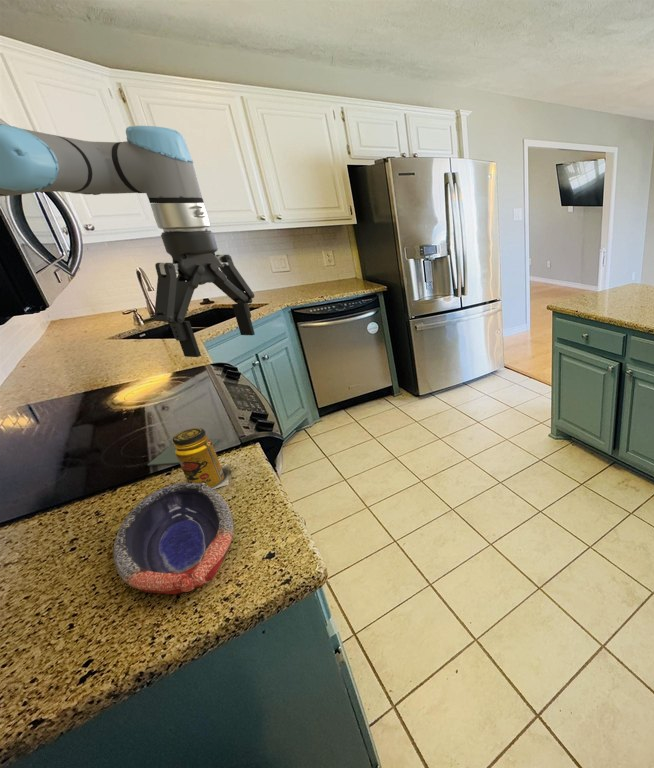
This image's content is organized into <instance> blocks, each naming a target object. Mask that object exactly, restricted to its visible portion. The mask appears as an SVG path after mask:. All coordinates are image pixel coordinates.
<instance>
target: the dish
mask: <svg viewBox="0 0 654 768" xmlns="http://www.w3.org/2000/svg"><path fill="white" fill-rule="evenodd" d="M232 515H233V514H232V512H231V508H230V506H229V504H228V502H227V501H226V500H225V499H224V497H223V496H222V495H221V494H220V493H219V492H218V491H216V489H212V488H211V487H209V486H208V485H206V484H205V483H188V482H179V483H174V484H170V485H167V486H165V487H161V488H159V489H158V490H156V491H154V492H151V494H149V495H148V496H146V497H145V498H143V499H142V500H141V501H140V502H138V503H137V504H136V505H135V506H134V507H133V508H132V509H131V510H130V512H129V513H128V514H127V515H126V517H125V518H124V520H123V521H122V523H121V525H120V526H119V528H118V531H117V534H116V536H115V539H114V542H113V543H114V544H113V550H112V552H113V554H112V555H113V562H114V567H115V569H116V572H117V574H118V575H119V577H120V578H121V579H122V581H123V582H124V583H126V584H127V585H128V586H130V587H132V588H133V589H136V590H139V591H142V592H145V593H151V594H165V595H176V594H178V595H179V594H181V593H188V592H190V591H193V590H194V589H197V588H200V587H202V586H205V585H207V584H208V583H209V582H211V581H212V580H213V579H214V578H215V577H216V575H217V573H218V571H219V569H220V567H221V566H222V564H223V562H224V560H225V559H226V557H227V555H228V553H229V551H230V549H231V545H232V542H233V536H234V531H235V525H234V518H233V516H232Z"/></svg>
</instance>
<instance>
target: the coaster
mask: <svg viewBox="0 0 654 768" xmlns="http://www.w3.org/2000/svg"><path fill="white" fill-rule="evenodd" d="M208 439H209V440H211V442H212V444H213V446H214V445H216V443H217V442H219V440H220V439H219V437H217V438H208ZM175 451H176V448H175V444H174V442H172V444H170V445H169V446H167V448H166V449H164V450H163V451H161V453H160V454H159V455H157V456H156V457H155V458H153V459H152V460H151V461H150V462H149V463H147V467H153V466H166V465H180V463H179V461H178V458H177V456H176V453H175Z"/></svg>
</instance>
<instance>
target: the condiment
mask: <svg viewBox="0 0 654 768" xmlns="http://www.w3.org/2000/svg"><path fill="white" fill-rule="evenodd" d="M209 439H210V438H209V437H208V435H207V433H206V430H205V429H204V428H200V427H195V428H189V429H185V430H183V431H181V432H178V433H177V434H175V435H174V436H173V438H172V443H174V444H175V448H176V451H175V453H176V456H177V458H178V461H179V463H180V464H179V465H180V468H181V470H182V472H183V475H184V477H185V480H186V483H205V484H206V485H208V486H209V487H211V488H212V489H213V490H216V489H218V488H221V487H224V486H229V484H230V483H229V482H230V463H228V464H226V465H223V466H222V465H221V463H220V461H219V460H220V459H219V458H218V455H217V452H216V450H215V447H214V445H213V444H212V442H211V440H209Z"/></svg>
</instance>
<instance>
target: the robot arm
mask: <svg viewBox="0 0 654 768" xmlns="http://www.w3.org/2000/svg"><path fill="white" fill-rule="evenodd" d="M125 135H126V141H117V142H116V141H89V140H83V139H78V138H73V137H66V136H60V135H57V134H51V133H45V132H40V131H36V130H30V129H25V128H21V127H17V126H14V125H9V124H6V123H0V197H1V198H2V197H9V196H11V197H12V196H19V195H27V194H35V193H46V192H47V193H48V192H51V193H52V192H54V193H55V192H56V193H57V192H58V193H59V192H60V193H62V192H63V193H71V194H77V195H79V194H81V195H86V196H87V195H93V196H98V195H99V196H100V195H112V194H113V195H115V194H116V195H117V194H146V196H147V199H148V202H149V204H150V207H151V211H152V214H153V216H154V219H155V223H156V226H157V228H158V229H160V230H162V231H163V232H161V234H160V237H161V240H162V243H163V246H164V249H165V252H166V253H167V254H168V255H170V257H171V258H172V262H156V263H155V266H154V267H155V269H156V270H155V271H156V275H157V283H156V293H155V304H154V314H153V315H154V316H153V319H154V321H156V322H161V323H167V324H169V327H170V329H171V331H172V334H173V337H174V339H175V340H176V341H178V342H179V345H180V347H181V350H182V353H183V357H186V358H199V357H202V354H201V351H200V348H199V345H198V342H197V339H196V336H195V333H194V331H193V328H192V324H191V322H190V320H186V319H185V318H186V316H187V312H188V310H189V306H190V305H191V304H190V303H191V301H192V298H193V295H194V292H195V290H196V289H198V288H199V286H202V285H205V284H207V283H209V284H211V283H212V284H213V285H214V286H216V287H217V288H218V289H219V290H220V291H221V292H223V293H224V294H225V295H226V296H227V297H228V298H229V299H230V300H232V302H234V304H231V306H232V309H233V313H234V316H235V320H236V323H237V326H238V327H237V328H238V330H239V333H240V336H255V334H256V333H255V330H254V325H253V323H252V313H251V310H250V306H249V304H252V303H253V299H255V294H254V292H253V290H252V289H251V287H250V286H249V284H248V283H247V282H246V281H245V279H244V278H243V276H242V275H241V273H240V272H239V270H238V269H237V268H236V266H235V263H234V261H233V258H232V256H231V254H216V252H217V251H218V249H219V248H218V245H217V241H216V238H215V234H214V232H213V231H211V230H209V229H208V228H210V227H211V222H210V219H209V215H208V212H207V209H206V205H205V201H204V198H203V195H202V192H201V188H200V184H199V181H198V177H197V174H196V170H195V167H194V160H193V158H192V156H191V153H190V151H189V148H188V146H187V143H186V140H185V138H184V136H183V135H182V134H181V133H180V132H179V131H178V130H176V129H172V128H168V127H164V126H153V125H131V126H127V127H126V128H125Z"/></svg>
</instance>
